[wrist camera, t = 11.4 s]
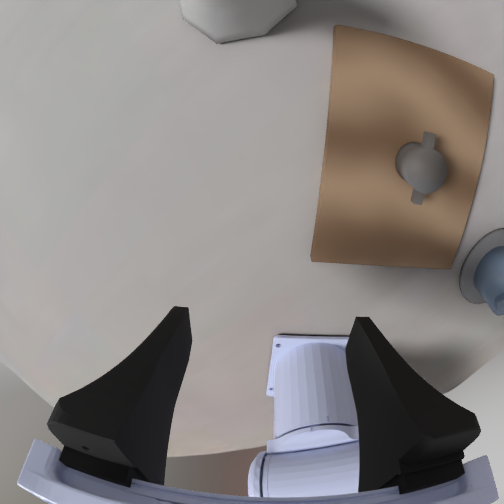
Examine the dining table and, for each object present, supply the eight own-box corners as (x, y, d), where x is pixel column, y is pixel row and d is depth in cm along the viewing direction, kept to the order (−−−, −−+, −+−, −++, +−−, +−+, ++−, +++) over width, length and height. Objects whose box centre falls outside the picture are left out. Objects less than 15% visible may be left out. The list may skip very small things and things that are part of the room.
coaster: (501, 300, 24) (502, 302, 24) (447, 301, 24) (449, 304, 24) (530, 232, 20) (532, 234, 20) (477, 223, 20) (480, 225, 20)
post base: (446, 264, 22) (461, 285, 20) (310, 255, 22) (315, 279, 20) (487, 73, 14) (512, 76, 11) (333, 26, 14) (345, 17, 12)
